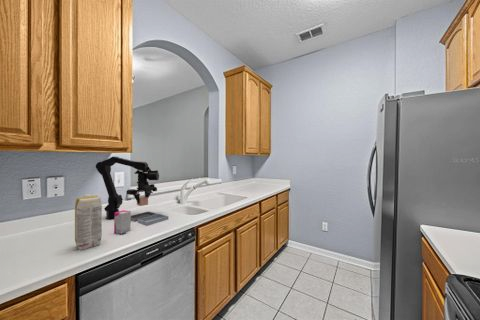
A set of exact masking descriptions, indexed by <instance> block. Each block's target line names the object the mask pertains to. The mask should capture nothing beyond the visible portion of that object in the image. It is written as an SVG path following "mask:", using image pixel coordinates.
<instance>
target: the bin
mask: <svg viewBox="0 0 480 320" xmlns="http://www.w3.org/2000/svg"><path fill="white" fill-rule="evenodd" d="M156 214H157V213H156V212H151V211H145V212H141V213H137V214H131V222H132V221H133V222H138V219H141V218H145V217H149V216H152V215H156Z"/></svg>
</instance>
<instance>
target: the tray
mask: <svg viewBox="0 0 480 320" xmlns="http://www.w3.org/2000/svg"><path fill="white" fill-rule="evenodd" d="M168 220H169V215H166V214H163V213H156V215H152V216H149V217H145V218H141V219H138V221H137V223H138V224H140V225H143V226H146V227H149V226H150V225H154V224H157V223H160V222H164V221H168Z"/></svg>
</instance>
